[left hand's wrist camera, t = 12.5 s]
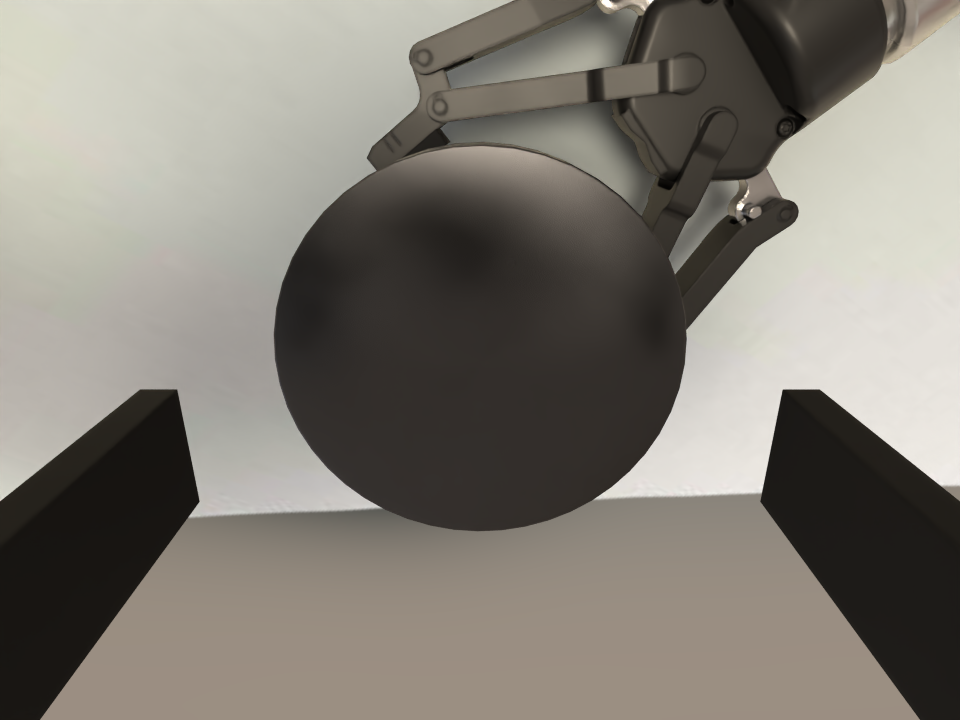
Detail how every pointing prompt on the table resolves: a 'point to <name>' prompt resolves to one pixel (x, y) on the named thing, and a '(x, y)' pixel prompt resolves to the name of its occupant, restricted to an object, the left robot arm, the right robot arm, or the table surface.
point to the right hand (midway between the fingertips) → (412, 318)
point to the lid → (480, 337)
